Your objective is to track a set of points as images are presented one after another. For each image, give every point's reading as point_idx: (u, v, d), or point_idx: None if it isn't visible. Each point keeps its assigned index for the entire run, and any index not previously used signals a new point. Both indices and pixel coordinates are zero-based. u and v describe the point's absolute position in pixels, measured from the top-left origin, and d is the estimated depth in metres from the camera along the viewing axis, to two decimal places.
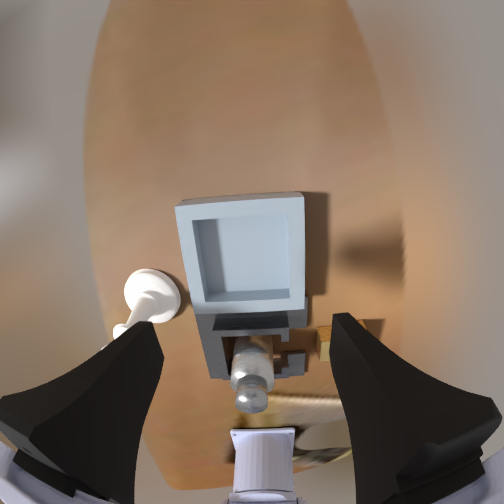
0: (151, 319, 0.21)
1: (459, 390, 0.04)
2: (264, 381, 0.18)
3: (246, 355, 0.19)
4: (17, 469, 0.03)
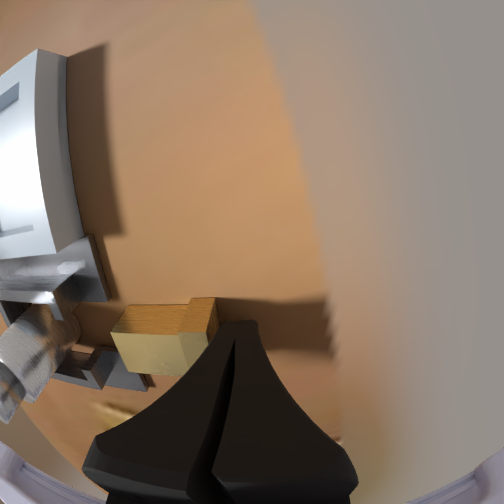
0: None
1: (312, 427, 0.04)
2: (8, 376, 0.07)
3: (6, 330, 0.08)
4: (17, 469, 0.03)
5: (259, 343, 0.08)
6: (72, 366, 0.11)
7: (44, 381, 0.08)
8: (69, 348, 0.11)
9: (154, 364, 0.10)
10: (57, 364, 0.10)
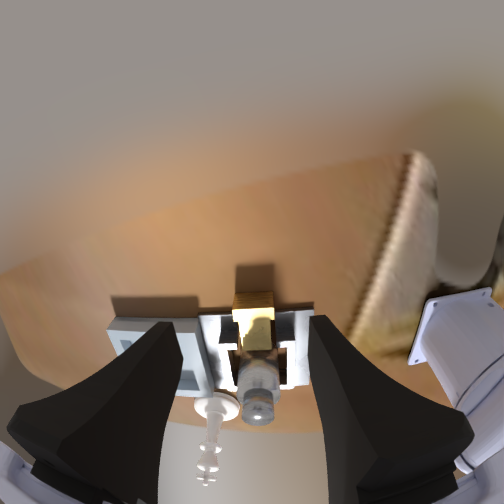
0: (233, 413, 0.25)
1: (429, 401, 0.04)
2: (248, 393, 0.17)
3: None
4: (17, 469, 0.03)
5: (343, 336, 0.08)
6: (286, 355, 0.21)
7: (267, 374, 0.18)
8: (268, 350, 0.21)
9: (262, 335, 0.19)
10: (268, 361, 0.20)
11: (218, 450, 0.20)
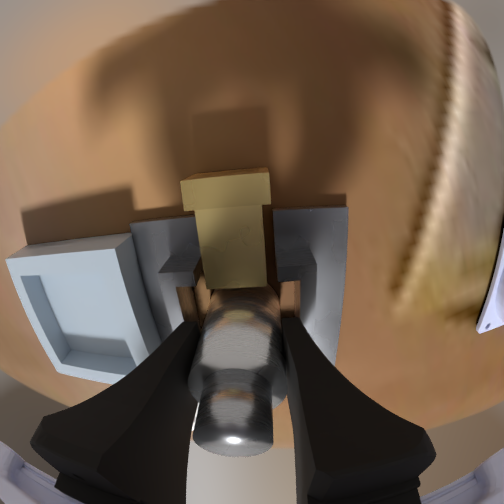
0: None
1: (389, 413, 0.04)
2: (211, 380, 0.07)
3: None
4: (17, 469, 0.03)
5: (311, 339, 0.08)
6: (297, 306, 0.11)
7: (257, 336, 0.08)
8: (262, 295, 0.11)
9: (246, 249, 0.09)
10: (261, 314, 0.10)
11: None
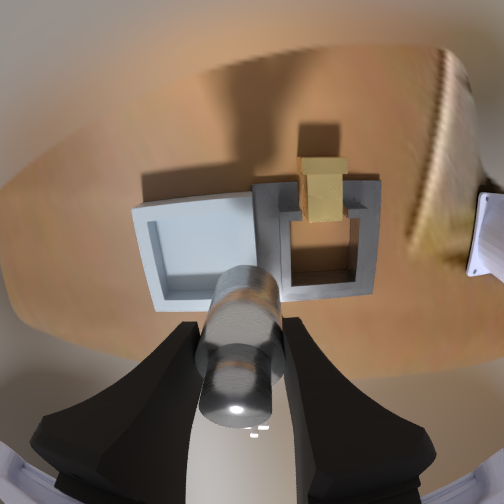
0: None
1: (389, 413, 0.04)
2: (216, 354, 0.08)
3: None
4: (17, 469, 0.03)
5: (311, 339, 0.08)
6: (355, 237, 0.18)
7: (258, 315, 0.09)
8: (263, 281, 0.12)
9: (333, 198, 0.16)
10: (262, 297, 0.11)
11: None
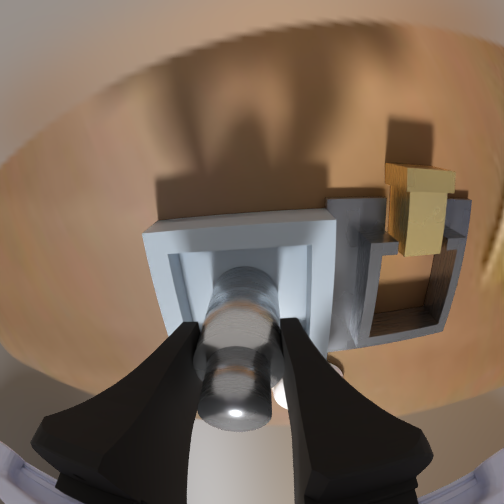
0: None
1: (386, 414, 0.04)
2: (215, 357, 0.08)
3: None
4: (17, 469, 0.03)
5: (309, 340, 0.08)
6: (443, 271, 0.12)
7: (257, 318, 0.09)
8: (261, 283, 0.12)
9: (435, 224, 0.10)
10: (260, 299, 0.11)
11: None
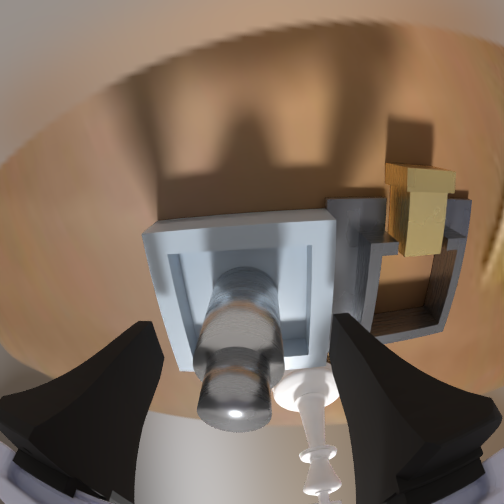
0: (335, 394, 0.16)
1: (459, 390, 0.04)
2: (214, 357, 0.08)
3: None
4: (17, 469, 0.03)
5: (369, 332, 0.08)
6: (443, 272, 0.12)
7: (256, 318, 0.09)
8: (261, 283, 0.12)
9: (435, 224, 0.10)
10: (260, 299, 0.10)
11: (331, 456, 0.11)
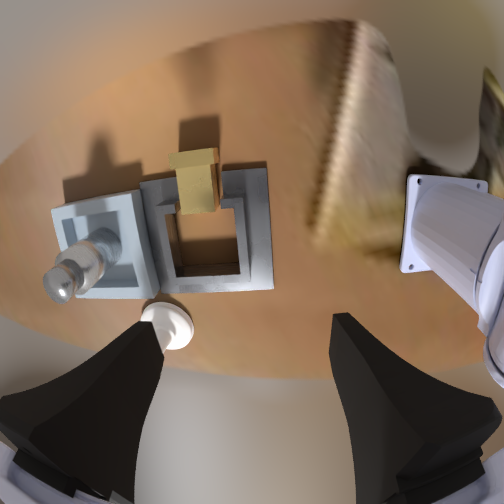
0: (184, 334, 0.22)
1: (459, 390, 0.04)
2: (58, 263, 0.14)
3: None
4: (17, 469, 0.03)
5: (369, 332, 0.08)
6: None
7: (81, 246, 0.15)
8: (102, 234, 0.18)
9: (203, 189, 0.16)
10: (93, 240, 0.17)
11: None
